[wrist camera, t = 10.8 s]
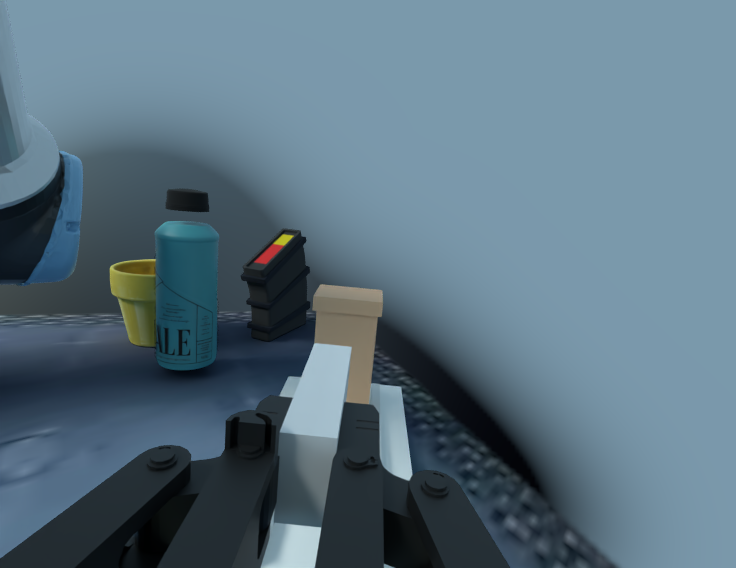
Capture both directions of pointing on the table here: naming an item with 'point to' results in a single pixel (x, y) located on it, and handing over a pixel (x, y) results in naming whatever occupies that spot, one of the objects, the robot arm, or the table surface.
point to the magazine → (277, 286)
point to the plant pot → (136, 298)
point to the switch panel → (300, 543)
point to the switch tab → (350, 330)
